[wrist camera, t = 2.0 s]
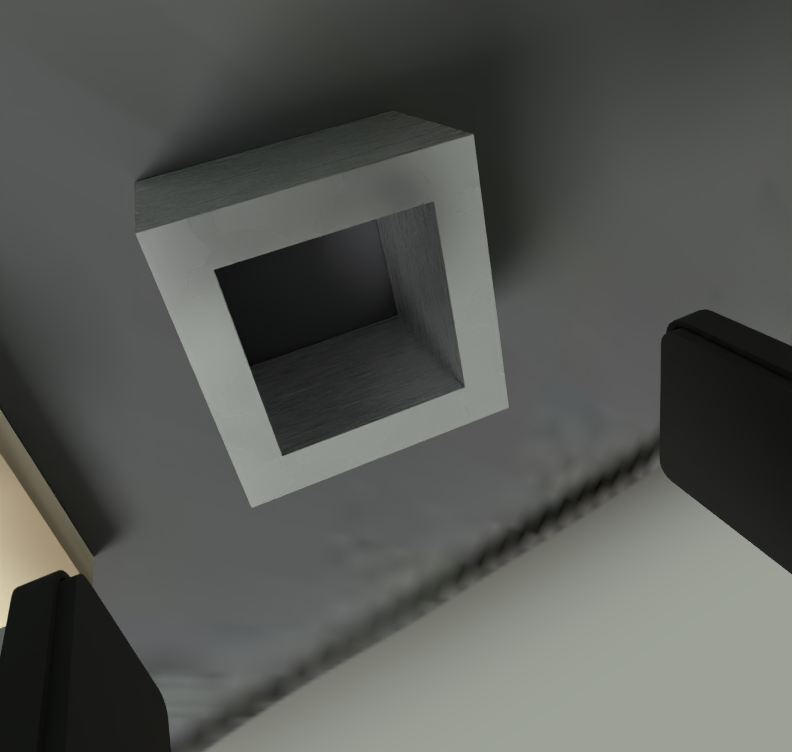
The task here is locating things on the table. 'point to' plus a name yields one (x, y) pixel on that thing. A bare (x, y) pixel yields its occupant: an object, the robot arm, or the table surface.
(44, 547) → the post block
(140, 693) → the robot arm
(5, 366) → the table surface
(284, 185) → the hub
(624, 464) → the table surface
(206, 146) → the table surface
